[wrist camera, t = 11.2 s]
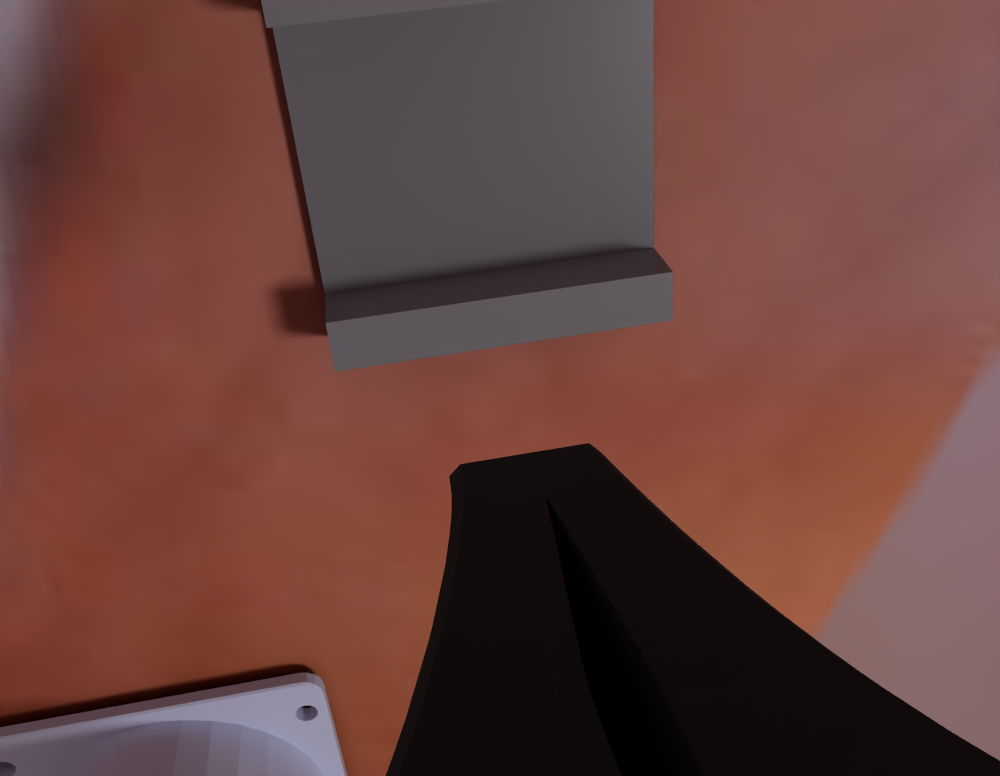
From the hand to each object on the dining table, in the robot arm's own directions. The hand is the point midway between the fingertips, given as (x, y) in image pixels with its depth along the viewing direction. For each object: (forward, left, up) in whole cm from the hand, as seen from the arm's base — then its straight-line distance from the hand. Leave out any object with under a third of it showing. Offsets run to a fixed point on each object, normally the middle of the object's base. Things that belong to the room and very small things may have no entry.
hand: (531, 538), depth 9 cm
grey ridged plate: (+1, -1, -10) cm, 10 cm away
